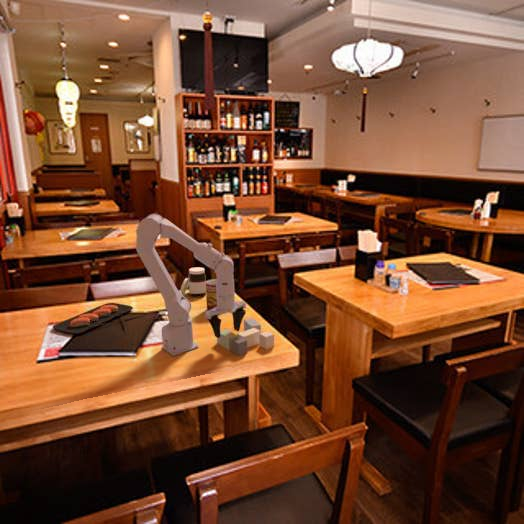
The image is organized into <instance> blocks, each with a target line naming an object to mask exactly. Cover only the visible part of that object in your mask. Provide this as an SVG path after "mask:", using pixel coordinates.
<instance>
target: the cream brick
mask: <svg viewBox="0 0 524 524" xmlns="http://www.w3.org/2000/svg"><path fill="white" fill-rule="evenodd" d="M259 334H260V331H259V330H257V329H255V328H252V329H249V330H246V331H244V330H243V331H239V332H238V333H236V335H237V338H239V337H242V338H244V339H245V340H247V349H248V348H250V347H253V346H256V345H260V339H259Z"/></svg>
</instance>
